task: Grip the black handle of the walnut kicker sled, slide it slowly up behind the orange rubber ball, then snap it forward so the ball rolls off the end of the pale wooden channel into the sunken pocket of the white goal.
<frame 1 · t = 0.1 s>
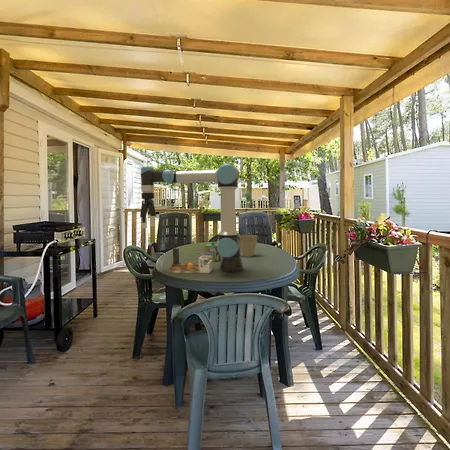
hand: (148, 227, 217), 28 cm above the table, tool pointing down, fingers open, 13 cm apart
ball: (190, 265, 222), point 3 cm above the table, touching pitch
chalk box: (212, 260, 259), on the table
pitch: (191, 271, 222), on the table
sled: (176, 258, 223), point 8 cm above the table, slide at 0.0 cm
goal: (205, 271, 220), on the table
plant pot: (247, 256, 276), on the table
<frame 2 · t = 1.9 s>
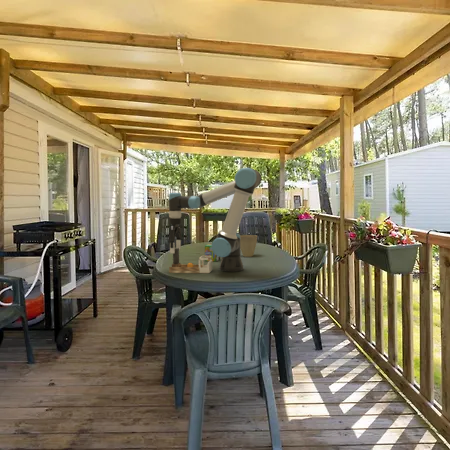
hand: (175, 251, 222), 12 cm above the table, tool pointing down, fingers open, 13 cm apart
nothing on the table moved.
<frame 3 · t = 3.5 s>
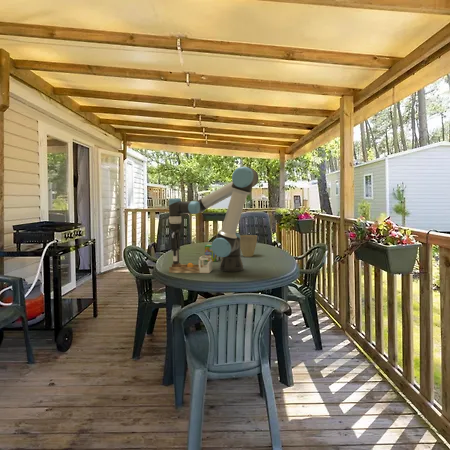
hand: (176, 260, 223), 7 cm above the table, tool pointing down, fingers closed on sled, 3 cm apart
sled: (176, 258, 223), point 8 cm above the table, slide at 0.0 cm, touching gripper
everything else where it was.
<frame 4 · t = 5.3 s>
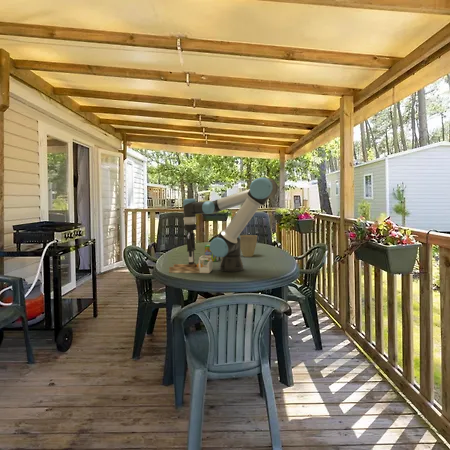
hand: (191, 261, 221), 6 cm above the table, tool pointing down, fingers closed on sled, 3 cm apart
ball: (199, 266, 221), point 3 cm above the table, tilted 155°, touching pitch
sled: (191, 258, 221), point 8 cm above the table, slide at 9.9 cm, touching gripper
everything else where it was.
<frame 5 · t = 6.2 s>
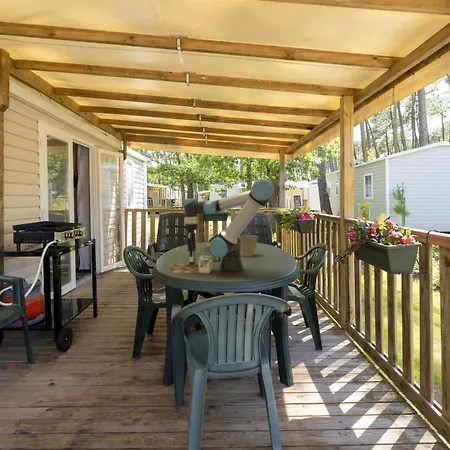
hand: (192, 261, 221), 6 cm above the table, tool pointing down, fingers closed on sled, 3 cm apart
ball: (205, 268, 220), point 2 cm above the table, tilted 75°
sled: (192, 258, 221), point 8 cm above the table, slide at 10.3 cm, touching gripper
everything else where it was.
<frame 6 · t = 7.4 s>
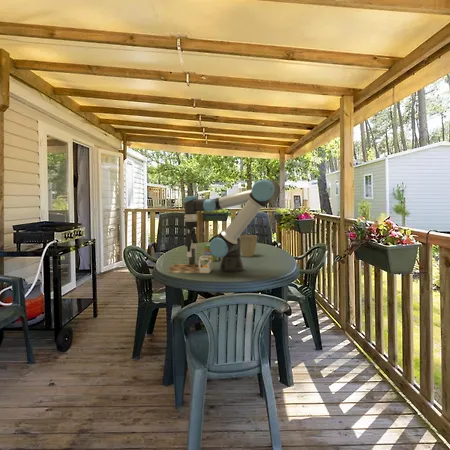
hand: (192, 255, 221), 10 cm above the table, tool pointing down, fingers open, 13 cm apart
sled: (192, 258, 221), point 8 cm above the table, slide at 10.2 cm
everything else where it was.
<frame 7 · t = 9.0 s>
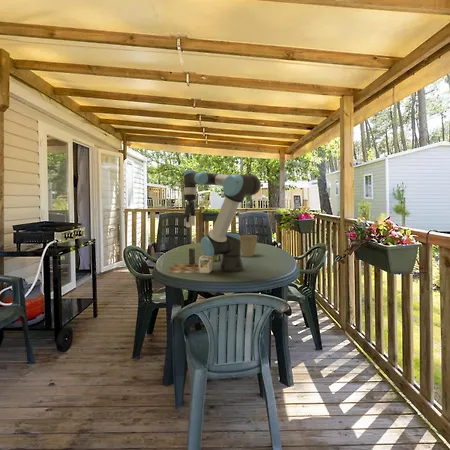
hand: (190, 226, 235), 27 cm above the table, tool pointing down, fingers open, 13 cm apart
nothing on the table moved.
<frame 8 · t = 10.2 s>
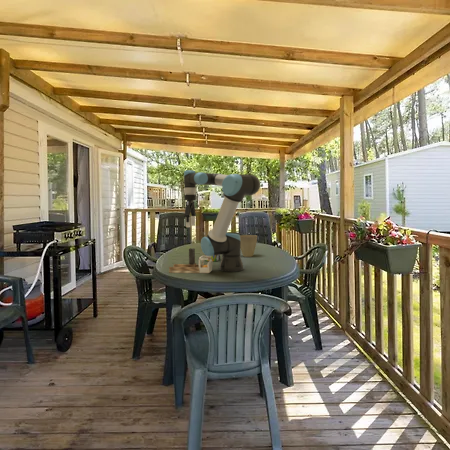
hand: (190, 226, 235), 27 cm above the table, tool pointing down, fingers open, 13 cm apart
nothing on the table moved.
at the end: ball inside the target area (0.3 cm from its centre), point 2.0 cm above the table; sled slide at 10.2 cm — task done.
